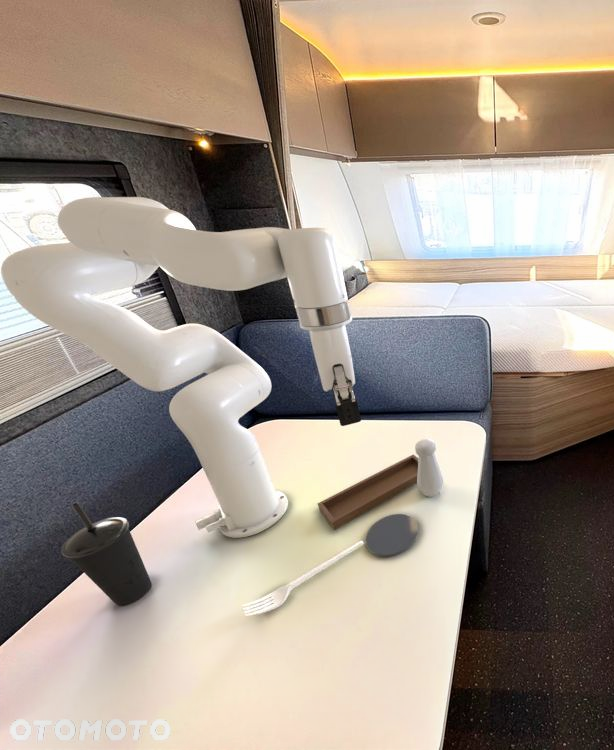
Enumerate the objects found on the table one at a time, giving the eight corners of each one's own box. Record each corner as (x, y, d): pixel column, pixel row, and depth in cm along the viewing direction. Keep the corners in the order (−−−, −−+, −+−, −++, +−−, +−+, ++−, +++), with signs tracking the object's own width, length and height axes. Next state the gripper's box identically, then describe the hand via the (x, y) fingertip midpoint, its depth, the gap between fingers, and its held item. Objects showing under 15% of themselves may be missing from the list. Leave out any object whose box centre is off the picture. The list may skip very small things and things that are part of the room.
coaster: (382, 566, 69) (381, 564, 69) (357, 535, 76) (356, 533, 75) (428, 535, 75) (428, 532, 75) (402, 508, 82) (401, 506, 82)
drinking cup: (94, 622, 62) (24, 531, 53) (115, 583, 68) (55, 495, 59) (153, 603, 64) (95, 513, 56) (167, 566, 71) (118, 481, 62)
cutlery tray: (333, 530, 77) (331, 522, 76) (319, 510, 82) (317, 503, 81) (431, 474, 92) (430, 467, 91) (414, 460, 97) (413, 454, 96)
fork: (368, 548, 73) (366, 541, 72) (249, 625, 60) (245, 617, 59) (360, 539, 75) (358, 532, 74) (244, 611, 62) (240, 603, 62)
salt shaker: (439, 501, 83) (432, 452, 78) (414, 498, 84) (406, 449, 79) (447, 483, 89) (442, 436, 83) (424, 480, 90) (417, 433, 84)
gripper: (297, 305, 65) (321, 394, 72) (298, 333, 51) (328, 441, 58) (344, 299, 68) (362, 385, 75) (357, 324, 54) (378, 428, 61)
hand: (347, 410), depth 66 cm, fingers open, 9 cm apart
